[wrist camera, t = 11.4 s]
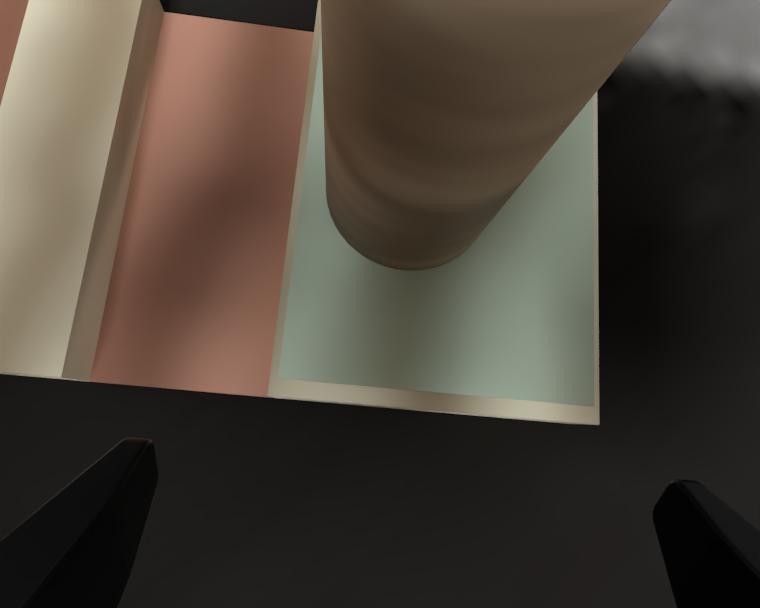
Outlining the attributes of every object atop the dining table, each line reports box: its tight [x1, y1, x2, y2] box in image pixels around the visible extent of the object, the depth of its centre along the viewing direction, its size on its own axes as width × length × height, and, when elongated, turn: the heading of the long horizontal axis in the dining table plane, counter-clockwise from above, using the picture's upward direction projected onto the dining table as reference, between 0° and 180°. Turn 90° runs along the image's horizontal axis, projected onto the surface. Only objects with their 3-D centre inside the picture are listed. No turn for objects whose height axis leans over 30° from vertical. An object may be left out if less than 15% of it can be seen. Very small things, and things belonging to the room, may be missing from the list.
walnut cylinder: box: [321, 0, 671, 271], centre depth 11 cm, size 5×5×10 cm
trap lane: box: [0, 0, 599, 425], centre depth 16 cm, size 33×13×2 cm, turn 85°
